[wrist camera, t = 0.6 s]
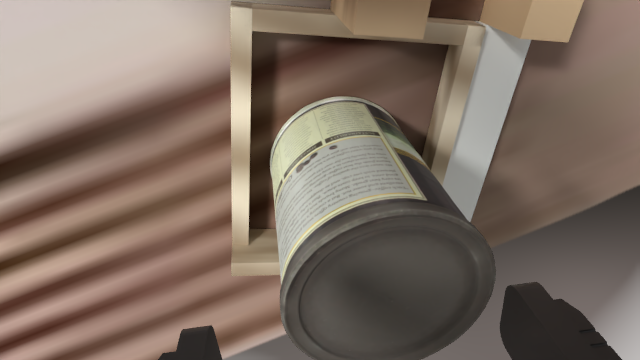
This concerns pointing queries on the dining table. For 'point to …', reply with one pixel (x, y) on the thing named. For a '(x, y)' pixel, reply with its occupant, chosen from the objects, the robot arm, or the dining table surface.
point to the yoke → (351, 22)
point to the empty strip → (499, 85)
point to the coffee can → (370, 240)
